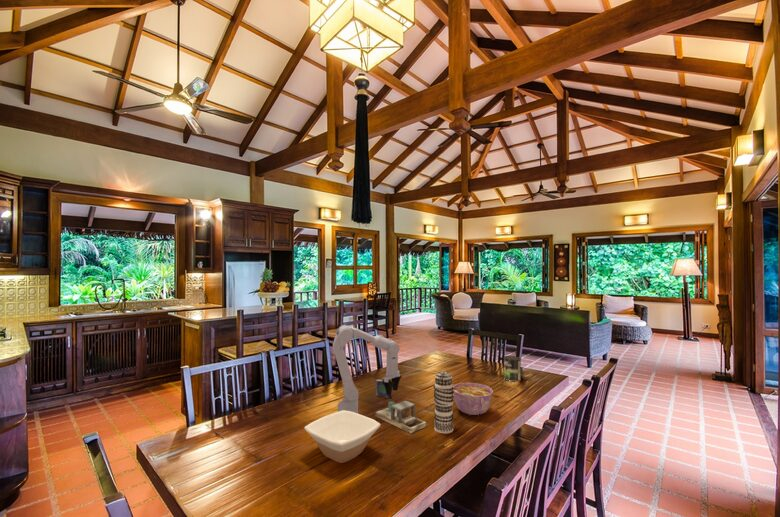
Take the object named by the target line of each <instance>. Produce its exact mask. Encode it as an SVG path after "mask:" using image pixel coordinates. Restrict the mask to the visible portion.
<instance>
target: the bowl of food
mask: <svg viewBox="0 0 780 517" xmlns="http://www.w3.org/2000/svg"><path fill="white" fill-rule="evenodd" d="M453 388H454V390H453V391H454V393H453V394H452V395H453V396H454V397H453V399H454V402H455V405H456V407H457V409H458V410H460V411H461V412H462V413H464V414H465V413H466V415H467V414H468V416H471V415H478V416H480V415H482V414H484V413H486V412H488V410H489V409H490V405H491V402H492V397H493V393H494V390H493V389H492V388H491V387H490V386H488V385H486V384H482V383H477V382H476V383H475V382H461V383H456V384H455V385H454V384H453ZM479 414H480V415H479Z"/></svg>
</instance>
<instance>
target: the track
mask: <svg viewBox="0 0 780 517" xmlns="http://www.w3.org/2000/svg"><path fill="white" fill-rule="evenodd" d="M407 408H409V409H410V408H411V409H410V414H411V416H413V417H415V420H413V421H410V422H408V423H404V422H402V410H404V409H407ZM395 409H397V410H398V420H397V419H395ZM387 411H388V407H386V408H383V409H380V410H378V411H375V417H376V418H378V419H380V420H383V421H385V422H387V423H388V424H391V425H392V426H395V427H396V428H399V429H401V430H402V431H405V432H407V433H409V434H412V433H415V432H418V431H420V430H421V429H424V428H426V427H427V422H426V421H425V420H422V419H420V418H418V417H416V403H414V402H410V401H408V400H403V401H401V402H398V403H395V405H392V406H391V416H389V415H387V414H385V412H387Z"/></svg>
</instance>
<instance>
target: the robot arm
mask: <svg viewBox="0 0 780 517" xmlns="http://www.w3.org/2000/svg"><path fill="white" fill-rule="evenodd" d="M352 339H353V340H355V339H362V340H364V341H368V342H370V343H372V346H373V347H375V348H377V349H380V350H382V351H383V350H384V351H386V368H385V369H386V374H385V376H384V377H385V378H384V380H383V381H382V383H383V384H384V387H385V390H386V394H387V395H390V396H391V397H392V392H393V391H396V392H397V391H398V388H399V384H400V381H401V378H402V375H401V373H400V370H399V355H398V354H399V353H400V349H401V348H400V345H399V344H398V343H397V342H396V341H395V340H392V339H391V338H386V337H384V335H382V334H376V335H372V334H370V333H368V332H365V331H364V330H361V329H359V328H357V327H353V326H348V325H346V324H342V325H340V326H339V327H338V328H337V330H336V331H335V336H334V340H333V343H332V349H333V352H334V356H335V360H336V362H337V366H338V369H339V370H338V371H339V373H340V377H341V380H342V392H343V394H344V396H342V400H340V401H339V402H338V403H337V412H339V411H343V410H346V411H351V412H354V413H357V414H359V395H360V393H359V392H360V391H359V390H358V389H357V387H356V385H355V384H354V380H353V377H352V374H351V371H350V366H349V364H348V359H347V356H346V353H345V350H344V348H345V347H346V345H347V344H348V343H349V342H350V341H351V340H352Z"/></svg>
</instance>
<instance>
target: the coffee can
mask: <svg viewBox="0 0 780 517" xmlns="http://www.w3.org/2000/svg"><path fill="white" fill-rule="evenodd" d="M505 379H506V380H509V381H508V382H510V381H519V380H520V381H521V357H520V356H516V355H505V356H503V380H505ZM506 380H505V381H506ZM520 381H519V382H520Z"/></svg>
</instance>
